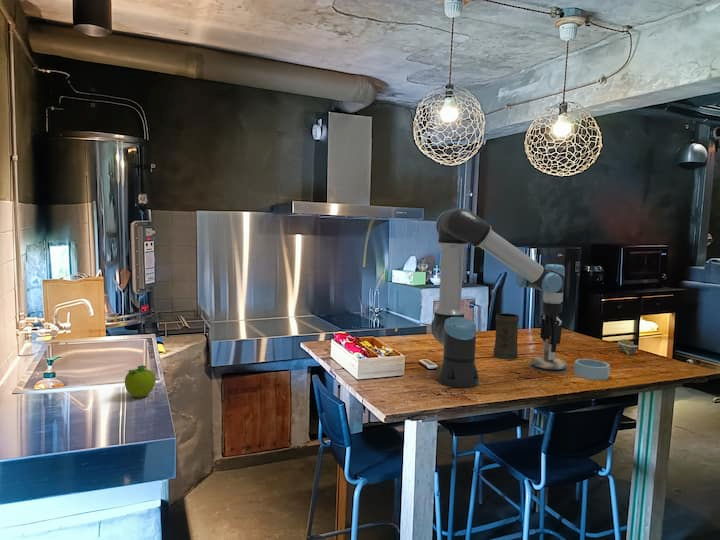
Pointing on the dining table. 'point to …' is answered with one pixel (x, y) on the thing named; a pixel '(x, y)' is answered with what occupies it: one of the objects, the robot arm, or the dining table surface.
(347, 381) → the dining table surface
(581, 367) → the bowl
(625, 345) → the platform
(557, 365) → the lid
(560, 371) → the mat
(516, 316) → the beer stein
